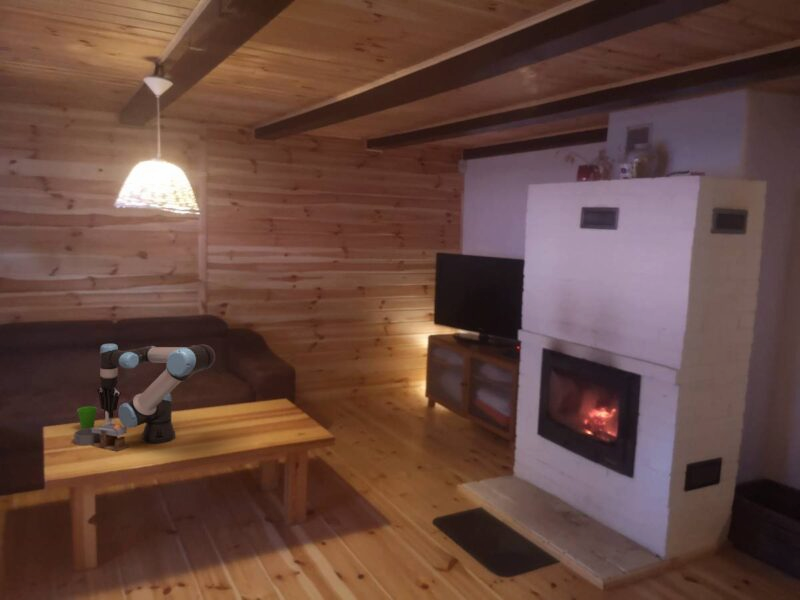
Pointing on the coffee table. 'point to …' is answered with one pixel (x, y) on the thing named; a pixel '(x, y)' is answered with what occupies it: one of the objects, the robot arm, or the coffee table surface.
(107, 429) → the grey slab
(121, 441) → the fulcrum
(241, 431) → the coffee table surface
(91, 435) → the dish
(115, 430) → the ball
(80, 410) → the cup
